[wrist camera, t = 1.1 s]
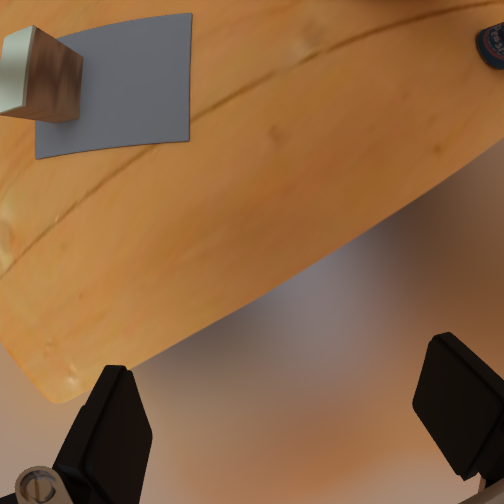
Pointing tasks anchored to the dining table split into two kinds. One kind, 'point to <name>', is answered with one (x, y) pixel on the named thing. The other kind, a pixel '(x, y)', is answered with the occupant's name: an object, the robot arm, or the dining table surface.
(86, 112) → the rubber mat
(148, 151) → the dining table surface
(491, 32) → the soda can
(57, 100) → the walnut slab
